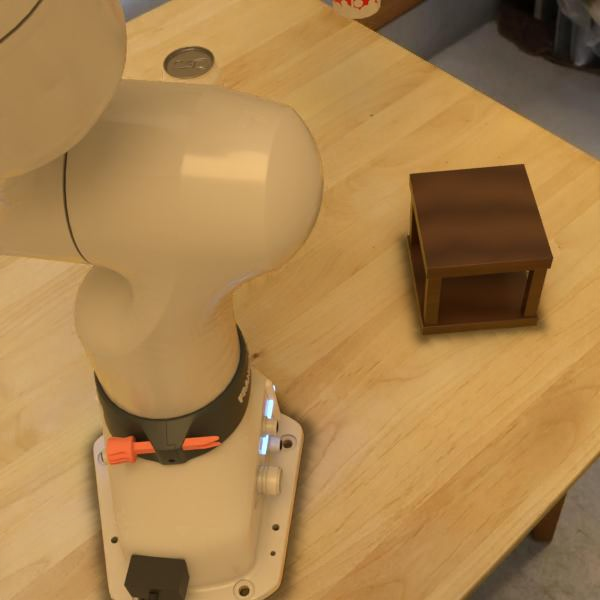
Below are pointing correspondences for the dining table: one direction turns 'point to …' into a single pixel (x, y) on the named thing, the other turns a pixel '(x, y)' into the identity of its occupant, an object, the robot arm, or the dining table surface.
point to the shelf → (476, 249)
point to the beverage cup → (356, 8)
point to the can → (192, 66)
